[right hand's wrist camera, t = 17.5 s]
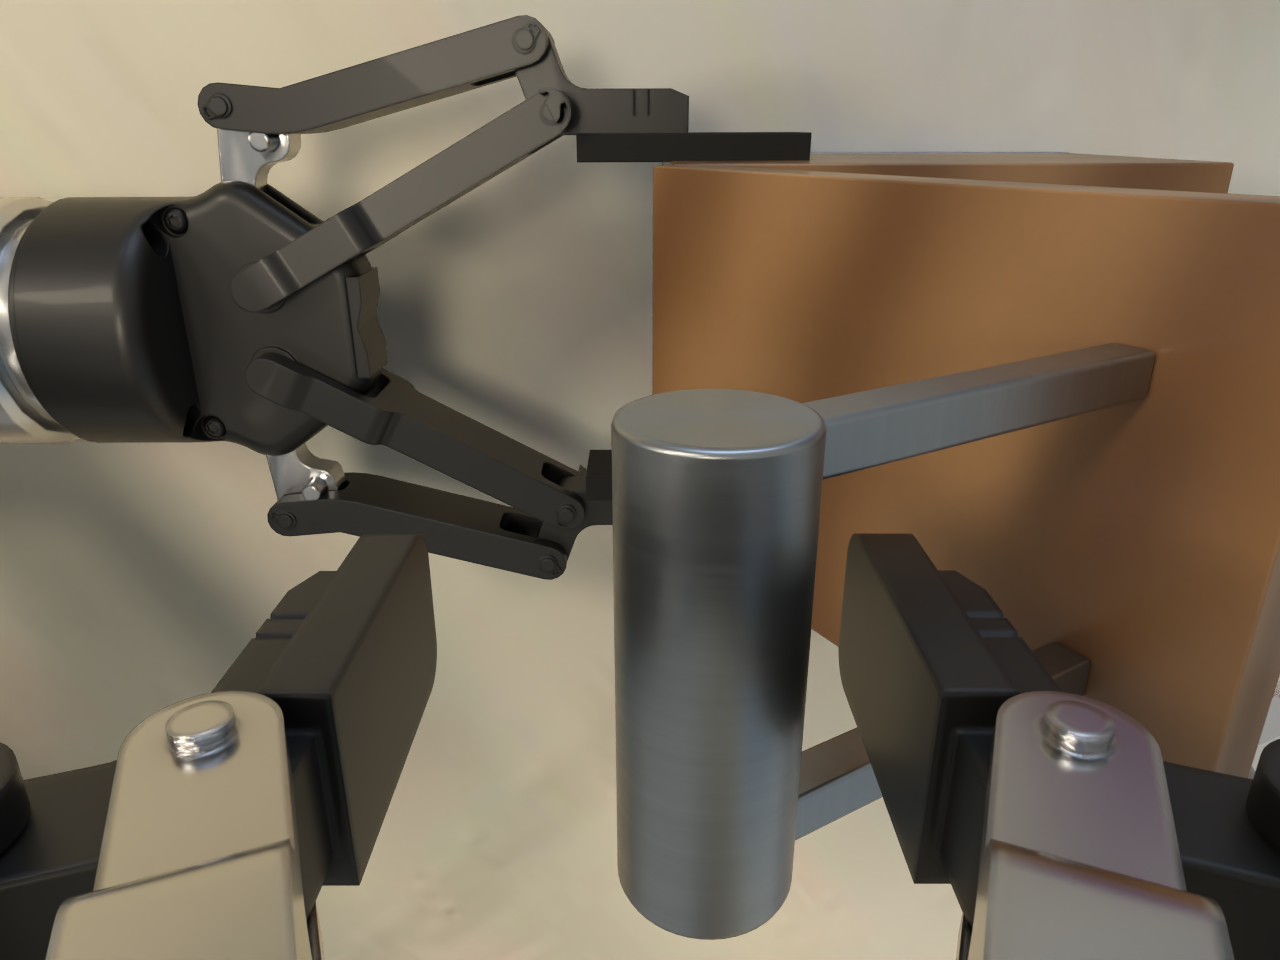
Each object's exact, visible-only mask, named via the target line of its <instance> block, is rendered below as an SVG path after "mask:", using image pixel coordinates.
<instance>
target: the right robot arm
mask: <svg viewBox="0 0 1280 960" xmlns="http://www.w3.org/2000/svg"><path fill="white" fill-rule="evenodd" d="M1003 614H1004V613H1003V612H1002V610H1001V609H1000V608H999V606H998V605H997V604H996V602H995V601H994V600H993V598H992V597H991V596H990V594H989V593H988V592H987V590H985V589H984V588H982V587H981V586H979V585H977V584H976V583H974V582H973V581H971V580H969V579H968V578H966V577H965V576H963V575H962V574H960V573H958V572H957V571H955V570H937V569H936V567H935V566H934V564H933V563H932V561H931V560H930V558H929V557H928V555H927V554H926V552H925V551H924V549H923V548H922V546H921V545H920V543H919V542H918V540H917V539H916V537H915V536H914V535H913V534H911V533H854V534H853V535H852V536H851V539H850V541H849V545H848V551H847V560H846V571H845V582H844V592H843V603H842V614H841V624H840V635H839V666H840V675H841V680H842V685H843V688H844V691H845V694H846V697H847V700H848V702H849V705H850V708H851V711H852V713H853V716H854V719H855V722H856V724H857V727H858V730H859V733H860V736H861V738H862V741H863V744H864V747H865V749H866V752H867V755H868V758H869V760H870V763H871V766H872V769H873V771H874V774H875V777H876V780H877V782H878V785H879V788H880V791H881V793H882V796H883V799H884V802H885V804H886V807H887V810H888V813H889V815H890V818H891V821H892V824H893V826H894V829H895V832H896V835H897V838H898V840H899V843H900V846H901V849H902V851H903V854H904V857H905V860H906V862H907V865H908V868H909V871H910V873H911V876H912V879H913V882H914V884H951V885H952V887H953V890H954V892H955V894H956V897H957V899H958V902H959V904H960V907H961V909H962V911H963V912H962V918H961V923H960V929H959V936H958V945H957V954H956V960H1280V739H1277V740H1275V741H1273V742H1271V743H1269V744H1268V745H1267V746H1266V747H1264V749H1263V751H1262V753H1261V755H1260V758H1259V761H1258V765H1257V768H1256V771H1255V774H1254V778H1253V779H1248V778H1243V777H1238V776H1233V775H1228V774H1223V773H1218V772H1213V771H1208V770H1203V769H1198V768H1193V767H1188V766H1183V765H1178V764H1174V763H1170V762H1166V761H1163V759H1162V753H1161V751H1160V748H1159V745H1158V743H1157V742H1156V740H1155V739H1154V737H1153V736H1152V735H1151V734H1150V733H1149V731H1148V730H1147V729H1146V728H1145V727H1143V726H1142V725H1141V724H1140V723H1139V722H1137V721H1136V720H1135V719H1133V718H1132V717H1130V716H1129V715H1127V714H1126V713H1124V712H1122V711H1120V710H1118V709H1116V708H1114V707H1112V706H1110V705H1108V704H1105V703H1103V702H1100V701H1097V700H1094V699H1092V698H1089V697H1085V696H1081V695H1077V694H1072V693H1066V692H1062V691H1061V689H1060V688H1059V687H1058V685H1057V684H1056V683H1055V681H1054V680H1053V679H1052V677H1051V676H1050V675H1049V673H1048V672H1047V671H1046V669H1045V668H1044V667H1043V665H1042V664H1041V663H1040V661H1039V660H1038V659H1037V657H1036V656H1035V655H1034V653H1033V652H1032V651H1031V649H1030V648H1029V647H1028V645H1027V644H1026V643H1025V641H1024V640H1023V639H1022V637H1018V632H1017V630H1016V629H1015V628H1014V626H1013V625H1012V624H1011V622H1010V621H1009V620H1008V618H1004V616H1003ZM436 660H437V642H436V631H435V620H434V610H433V600H432V589H431V579H430V568H429V558H428V550H427V545H426V541H425V539H424V537H423V535H421V534H363V535H362V536H361V537H360V538H359V539H358V541H357V542H356V544H355V545H354V547H353V548H352V550H351V551H350V553H349V554H348V555H347V557H346V558H345V560H344V561H343V563H342V564H341V566H340V567H339V569H338V570H337V571H319V572H318V573H316V574H315V575H313V576H311V577H310V578H308V579H307V580H305V581H303V582H302V583H300V584H299V585H297V586H296V587H294V588H292V589H291V590H289V591H288V592H287V593H286V595H285V596H284V597H283V599H282V600H281V601H280V603H279V604H278V605H277V607H276V608H275V609H274V611H273V612H272V613H271V618H270V619H267V620H266V621H265V622H264V624H263V625H262V626H261V628H260V629H259V630H258V632H257V633H256V639H252V640H251V641H250V642H249V643H248V645H247V646H246V647H245V649H244V650H243V651H242V653H241V654H240V655H239V657H238V658H237V659H236V661H235V662H234V663H233V665H232V666H231V667H230V669H229V670H228V671H227V672H226V674H225V675H224V676H223V678H222V679H221V680H220V682H219V683H218V684H217V686H216V687H215V688H214V690H213V691H212V692H211V693H208V694H203V695H199V696H195V697H191V698H188V699H186V700H183V701H180V702H177V703H175V704H172V705H170V706H168V707H166V708H164V709H162V710H160V711H158V712H156V713H154V714H153V715H151V716H150V717H148V718H147V719H145V720H144V721H143V722H141V723H140V724H139V725H138V726H137V727H135V728H134V729H133V730H132V731H131V733H130V734H129V735H128V736H127V737H126V739H125V740H124V742H123V743H122V745H121V748H120V751H119V753H118V759H117V760H116V761H113V762H109V763H105V764H101V765H97V766H93V767H88V768H83V769H78V770H73V771H68V772H63V773H58V774H53V775H48V776H43V777H38V778H33V779H28V780H23V779H22V776H21V772H20V769H19V766H18V763H17V760H16V757H15V755H14V753H13V751H12V750H11V749H10V748H9V747H8V746H7V745H4V744H2V743H0V960H324V954H323V945H322V936H321V929H320V924H319V918H318V912H317V906H316V899H317V896H318V894H319V892H320V889H321V887H322V885H360V882H361V880H362V877H363V874H364V872H365V869H366V866H367V864H368V861H369V858H370V855H371V853H372V850H373V847H374V845H375V842H376V839H377V837H378V834H379V831H380V828H381V826H382V823H383V820H384V818H385V815H386V812H387V810H388V807H389V804H390V801H391V799H392V796H393V793H394V791H395V788H396V785H397V783H398V780H399V777H400V774H401V772H402V769H403V766H404V764H405V761H406V758H407V756H408V753H409V750H410V747H411V745H412V742H413V739H414V737H415V734H416V731H417V728H418V726H419V723H420V720H421V718H422V715H423V712H424V710H425V707H426V704H427V701H428V699H429V696H430V693H431V691H432V687H433V683H434V678H435V672H436Z"/></svg>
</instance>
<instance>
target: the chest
mask: <svg viewBox="0 0 1280 960" xmlns="http://www.w3.org/2000/svg"><path fill="white" fill-rule="evenodd" d="M663 165H711V166H729V167H748V168H766V169H784V170H803V171H821V172H839V173H858V174H876V175H894V176H913V177H931V178H949V179H968V180H986V181H1004V182H1023V183H1041V184H1059V185H1078V186H1096V187H1114V188H1133V189H1151V190H1169V191H1188V192H1206V193H1224V194H1227V192H1228V188H1229V183H1230V179H1231V175H1232V170H1233V166H1234V165H1233V163H1227V162H1210V161H1193V160H1176V159H1158V158H1141V157H1124V156H1107V155H1089V154H1072V153H1062V152H885V153H810V160H784V161H671V162H663Z"/></svg>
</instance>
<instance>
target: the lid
mask: <svg viewBox="0 0 1280 960" xmlns="http://www.w3.org/2000/svg"><path fill="white" fill-rule="evenodd" d="M611 433H612V502H613V572H614V641H615V710H616V780H617V849H618V875H619V879H620V883H621V885H622V888H623V890H624V892H625V894H626V896H627V897H628V899H629V900H630V902H631V903H632V905H633V906H634V907H635V908H636V909H637V911H638V912H639V913H641V914H642V915H643V916H644V917H645V918H646V919H648V920H649V921H650V922H652V923H653V924H655V925H657V926H658V927H660V928H662V929H664V930H666V931H669V932H672V933H674V934H677V935H681V936H685V937H689V938H695V939H709V940H714V939H725V938H731V937H736V936H739V935H742V934H745V933H748V932H750V931H752V930H754V929H756V928H758V927H760V926H761V925H763V924H764V923H766V922H767V921H768V920H769V919H770V918H771V917H773V916H774V914H775V913H776V912H777V911H778V910H779V909H780V907H781V906H782V904H783V903H784V901H785V899H786V898H787V895H788V893H789V890H790V886H791V881H792V868H793V855H794V842H795V840H797V839H799V838H801V837H803V836H805V835H807V834H809V833H811V832H813V831H815V830H817V829H819V828H821V827H823V826H825V825H827V824H829V823H831V822H833V821H835V820H837V819H839V818H841V817H843V816H845V815H847V814H849V813H851V812H853V811H855V810H857V809H859V808H861V807H863V806H865V805H867V804H869V803H871V802H873V801H875V800H877V799H879V798H881V797H883V796H882V793H881V791H880V788H879V785H878V782H877V780H876V777H875V774H874V771H873V769H872V766H871V763H870V760H869V758H868V755H867V752H866V749H865V747H864V744H863V741H862V738H861V736H860V733H859V730H858V727H857V728H855V729H853V730H850V731H848V732H846V733H843V734H841V735H839V736H837V737H834V738H832V739H830V740H828V741H825V742H823V743H821V744H818V745H816V746H814V747H812V748H809V749H807V750H805V751H803V752H802V740H803V727H804V714H805V701H806V689H807V676H808V663H809V650H810V637H811V629H812V630H814V631H815V632H817V633H818V634H820V635H822V636H823V637H825V638H826V639H828V640H829V641H831V642H832V643H834V644H835V645H837V646H838V647H839V635H840V624H841V614H842V603H843V592H844V582H845V571H846V560H847V551H848V545H849V541H850V539H851V536H852V535H853V534H854V533H911V534H913V535H914V536H915V537H916V539H917V540H918V542H919V543H920V545H921V546H922V548H923V549H924V551H925V552H926V554H927V555H928V557H929V558H930V560H931V561H932V563H933V564H934V566H935V567H936V569H937V570H955V571H957V572H958V573H960V574H962V575H963V576H965V577H966V578H968V579H969V580H971V581H973V582H974V583H976V584H977V585H979V586H981V587H982V588H984V589H985V590H987V592H988V593H989V594H990V596H991V597H992V598H993V600H994V601H995V602H996V604H997V605H998V606H999V608H1000V609H1001V610H1002V612H1003V613H1004V614H1003V616H1004V618H1008V620H1009V621H1010V622H1011V624H1012V625H1013V626H1014V628H1015V629H1016V630H1017V632H1018V637H1022V639H1023V640H1024V641H1025V643H1026V644H1027V645H1028V647H1029V648H1030V649H1031V651H1032V652H1033V653H1034V655H1035V656H1036V657H1037V659H1038V660H1039V661H1040V663H1041V664H1042V665H1043V667H1044V668H1045V669H1046V671H1047V672H1048V673H1049V675H1050V676H1051V677H1052V679H1053V680H1054V681H1055V683H1056V684H1057V685H1058V687H1059V688H1060V689H1061V691H1062V692H1066V693H1072V694H1077V695H1081V696H1085V697H1089V698H1092V699H1094V700H1097V701H1100V702H1103V703H1105V704H1108V705H1110V706H1112V707H1114V708H1116V709H1118V710H1120V711H1122V712H1124V713H1126V714H1127V715H1129V716H1130V717H1132V718H1133V719H1135V720H1136V721H1137V722H1139V723H1140V724H1141V725H1142V726H1143V727H1145V728H1146V729H1147V730H1148V731H1149V733H1150V734H1151V735H1152V736H1153V737H1154V739H1155V740H1156V742H1157V743H1158V745H1159V748H1160V751H1161V753H1162V759H1163V761H1166V762H1170V763H1174V764H1178V765H1183V766H1188V767H1193V768H1198V769H1203V770H1208V771H1213V772H1218V773H1223V774H1228V775H1233V776H1238V777H1243V778H1248V776H1249V773H1250V770H1251V767H1252V763H1253V760H1254V757H1255V753H1256V750H1257V747H1258V744H1259V740H1260V737H1261V734H1262V730H1263V727H1264V724H1265V721H1266V717H1267V714H1268V711H1269V707H1270V704H1271V701H1272V698H1273V694H1274V691H1275V688H1276V684H1277V681H1278V678H1279V675H1280V197H1279V196H1261V195H1243V194H1224V193H1206V192H1188V191H1169V190H1151V189H1133V188H1114V187H1096V186H1078V185H1059V184H1041V183H1023V182H1004V181H986V180H968V179H949V178H931V177H913V176H894V175H876V174H858V173H839V172H821V171H803V170H784V169H766V168H748V167H729V166H711V165H659V166H654V167H653V390H652V395H651V396H647V397H644V398H641V399H638V400H635V401H632V402H630V403H628V404H626V405H624V406H623V407H621V408H620V409H619V410H618V411H617V412H616V414H615V416H614V418H613V420H612V424H611Z"/></svg>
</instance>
